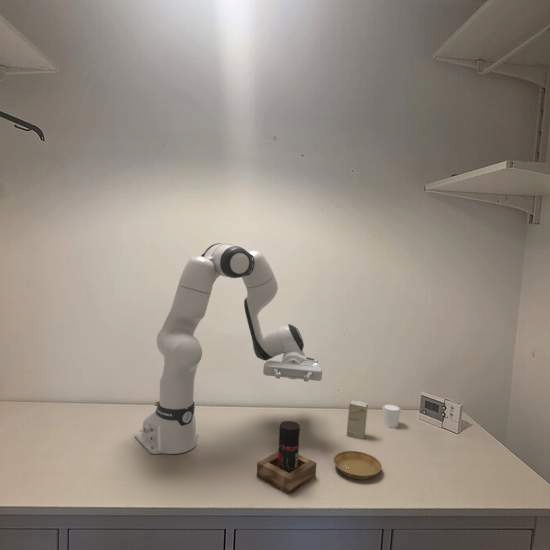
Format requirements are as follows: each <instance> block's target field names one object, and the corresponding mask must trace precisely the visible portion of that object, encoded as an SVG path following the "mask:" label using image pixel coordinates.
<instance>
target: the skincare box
mask: <svg viewBox="0 0 550 550" xmlns="http://www.w3.org/2000/svg"><path fill="white" fill-rule="evenodd" d="M368 405H369V403H368V402H364V401H360V400H353V399H351V400H350V401H349V405H348V416H347V426H346V436H349V437H352V438H357V439H361V440H363V439H364V438H365V436H366V430H367V429H366V427H367V417H368V408H369V406H368Z"/></svg>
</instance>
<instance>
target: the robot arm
mask: <svg viewBox="0 0 550 550" xmlns="http://www.w3.org/2000/svg"><path fill="white" fill-rule="evenodd" d="M220 276H222V277H225V278H230V279H239V278H241V279H242V281H243V283H244V286H245V289H246V293H247V294H246V295H247V296H246V298H245V299H244V301H243V306H244V307H243V309H244V312H245V316H246V320H247V325H248V328H249V333H250V336H251V341H252V349H253V353H254V355H255V356H256V358H258V359H259V360H262V361H266V362H265V363H264V365H263V370H262V373H263V374H262V375H265V376H267V377H268V376H269V377H274V378H275V379H280V378H288V379H290V380H303V381H304V382H309V381H316V382H317V381H318V382H319V381H320V382H321V381H322V378H323V369H322V368H323V367H322V366H321V365H320V364H319V362H318V360H317V359H316V358H311V357H307V356H306V354H305V353H304V345H305V344H304V340H303V337H302V334H301V332H300V331H299V329H298V328H297V327H296V326H294V325H293V324H290V323H287V324H285V325H282V326H279V327H277V328H275V329H272V330H269V331H267V332H263V331H262V330H261V325H260V321H259V317H258V315H259V314H260V312H261V311H262V310H263V309H264V308H265V307H266V306H268V305H269V304H270V303H271V302H272V301H273V300H274V298H275V297H276V294H277V293H278V287H279V286H278V282H277V279H276V275H275V274H274V271H273V270H272V267H271V266H270V264H269V262H268V261H267V259H266V257H265V256H264V254H263V253H262V252H261V251H259V250H253V249H252V250H249V251H247V250H246V249H244V248H243V247H241V246H239V245H234V244H231V243H214V244H211V245H210V246H208V247H207V248H206V250H205V251H204V252H203V253H202V254H201V255H200V256H199V255H197V256H193V257H190V258H189V259H188V261H187V262H186V265H185V266H184V269H183V271H182V273H181V275H180V277H179V278H180V279H179V281H178V285H177V288H176V292H175V295H174V298H173V301H172V304H171V308H170V311H169V313H168V315H167V317H166V318H165V321H164V322H163V325H162V327H161V329H160V330H159V331H158V333H157V336H156V346H157V349H158V350H159V352H160V353H161V354H162V356H163V360H164V365H163V371H162V374H161V375H162V376H161V378H160V380H159V399H158V400H159V401H157V402H156V401H155V404H154V407H156V408H155V411H154V412H153V413H151V414H150V415H148V416H147V417H145V419H144V420H143V423H142V429H139V430H138V431H137V432H135V434H134V438H135V439H137V441H138V442H139V443H140V444H141V445H142V446H143V447H144V448H145V450H147V451H148V452H149V453H150V454H153V455H156V454H157V455H159V454H165V455H166V454H167V455H175V454H177V455H178V454H182V453H186V452H188V451H191V450H192V449H194V448H196V445H197V443H198V442H197V441H198V440H197V438H198V437H199V432H198V431H197V425H196V423H197V422H196V414H195V409H196V407H195V400H194V395H195V392H194V391H195V390H194V389H195V377H196V374H197V369H198V365H199V363H200V361H201V360H202V357H203V348H202V346H201V344H200V342H199V340H198V339H197V337H195V336H194V334H195V332H196V329H197V327H198V326H199V324H200V322H201V320H203V318H204V317H205V316H206V312H207V308H208V305H209V302H210V298H211V294H212V292H213V286H214V284H215V282H216V281H217V279H218V278H219V277H220ZM279 355H280V356H281V355H283V356H282V359H281V361H279V360H270V359H273V358H275V357H277V356H279Z"/></svg>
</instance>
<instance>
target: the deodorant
mask: <svg viewBox="0 0 550 550" xmlns="http://www.w3.org/2000/svg"><path fill="white" fill-rule="evenodd" d="M300 430H301V425H300V424H299V422H296V421H292V420H284V421H282V422H280V423H279V433H278V450H277V451H278V468H280V469H282V470H284V471H286V472H288V473H290V472H292V471H293V470H295V469H297V468H298V454H299V452H300V451H299V447H300Z"/></svg>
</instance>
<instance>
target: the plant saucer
mask: <svg viewBox="0 0 550 550" xmlns="http://www.w3.org/2000/svg"><path fill="white" fill-rule="evenodd" d="M333 463H334V465H335V467H336V468H337V469H338V470H339V471H340V473H341V474H343V475H345V476H346V477H349V478H350V479H355V480H368V479H372V478H373V477H375V476H376V475H377V474H379V472H381V470H382V463H381V461H380V460H378V459H377V458H376V456H375V457H374V456H373V455H371V454H369V453H366V452H362V451H358V450H356V451H355V450H346V451H342V452H339V453H337V454H336V455H334V456H333ZM345 465H346V466H345ZM346 467H347V468H346ZM348 467H349V468H348Z"/></svg>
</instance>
